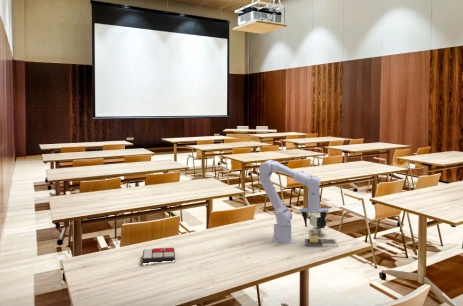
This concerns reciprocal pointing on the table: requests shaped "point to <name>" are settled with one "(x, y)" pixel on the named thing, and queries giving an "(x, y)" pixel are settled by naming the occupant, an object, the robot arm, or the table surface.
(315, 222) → the pneumatic valve
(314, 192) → the robot arm
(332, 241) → the tray
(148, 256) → the grey and red box
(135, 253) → the table surface
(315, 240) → the brass cube with hole
